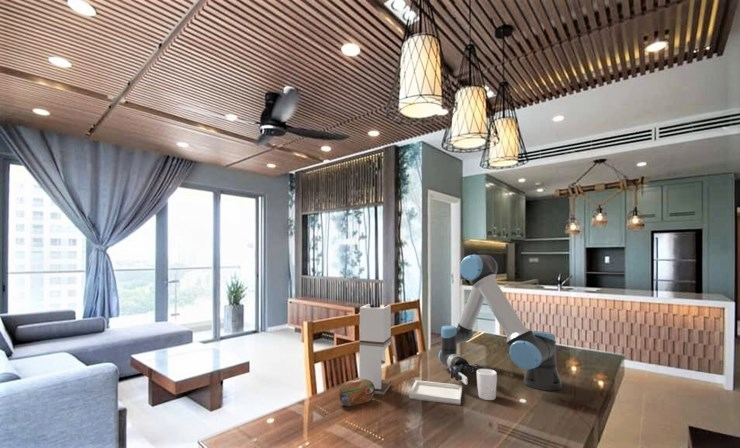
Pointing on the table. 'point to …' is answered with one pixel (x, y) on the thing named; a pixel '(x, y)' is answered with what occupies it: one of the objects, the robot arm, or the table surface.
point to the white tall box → (374, 344)
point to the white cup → (486, 384)
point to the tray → (436, 392)
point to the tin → (356, 392)
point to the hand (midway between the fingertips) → (481, 379)
